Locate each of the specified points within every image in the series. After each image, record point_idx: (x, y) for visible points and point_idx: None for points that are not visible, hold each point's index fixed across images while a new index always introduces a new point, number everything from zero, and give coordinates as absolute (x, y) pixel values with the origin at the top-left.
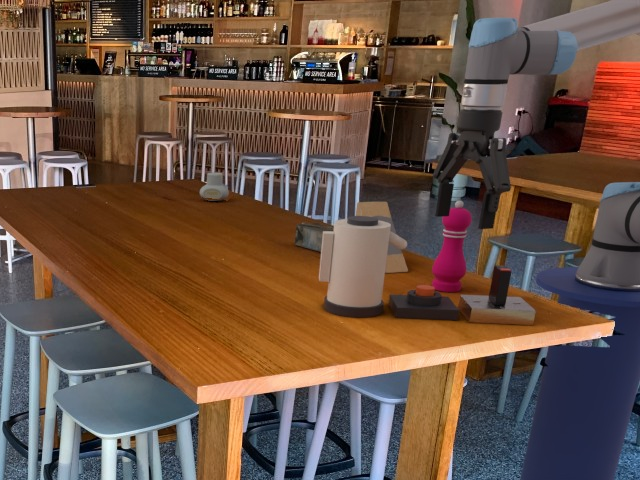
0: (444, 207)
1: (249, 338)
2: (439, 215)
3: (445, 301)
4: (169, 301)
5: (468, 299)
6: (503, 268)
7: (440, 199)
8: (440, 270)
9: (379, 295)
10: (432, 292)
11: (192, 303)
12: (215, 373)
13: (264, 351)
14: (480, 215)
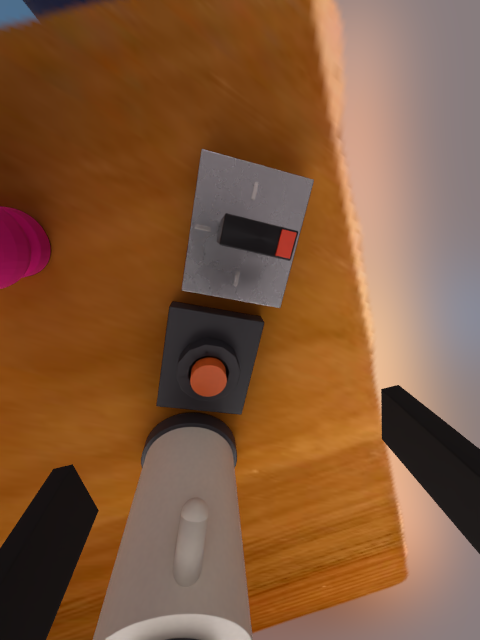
0: (61, 538)
1: (302, 554)
2: (91, 508)
3: (207, 325)
4: None
5: (221, 289)
6: (262, 237)
7: (48, 626)
8: (9, 282)
9: (220, 448)
10: (223, 368)
11: None
12: (386, 573)
13: (343, 544)
14: (425, 489)
